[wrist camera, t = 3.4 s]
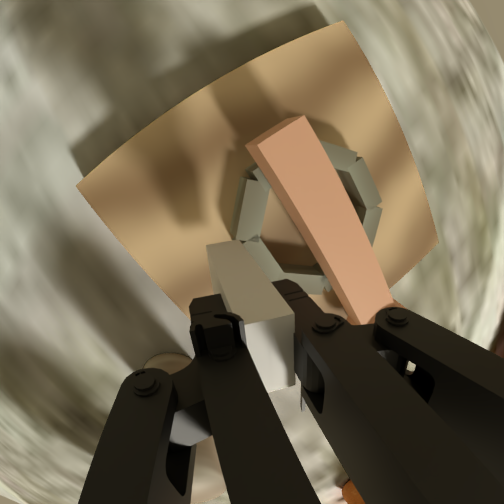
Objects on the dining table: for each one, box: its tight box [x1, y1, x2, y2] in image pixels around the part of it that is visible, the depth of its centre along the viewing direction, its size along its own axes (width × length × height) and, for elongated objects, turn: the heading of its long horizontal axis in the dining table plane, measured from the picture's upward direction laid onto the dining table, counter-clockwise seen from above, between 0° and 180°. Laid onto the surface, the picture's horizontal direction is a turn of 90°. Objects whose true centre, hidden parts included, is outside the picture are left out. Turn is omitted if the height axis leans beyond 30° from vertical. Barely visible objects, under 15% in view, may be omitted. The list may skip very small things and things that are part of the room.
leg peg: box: [143, 353, 226, 504], centre depth 16 cm, size 4×4×10 cm
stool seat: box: [76, 21, 439, 320], centre depth 17 cm, size 18×18×4 cm
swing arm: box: [245, 115, 406, 325], centre depth 15 cm, size 16×4×3 cm, turn 33°
